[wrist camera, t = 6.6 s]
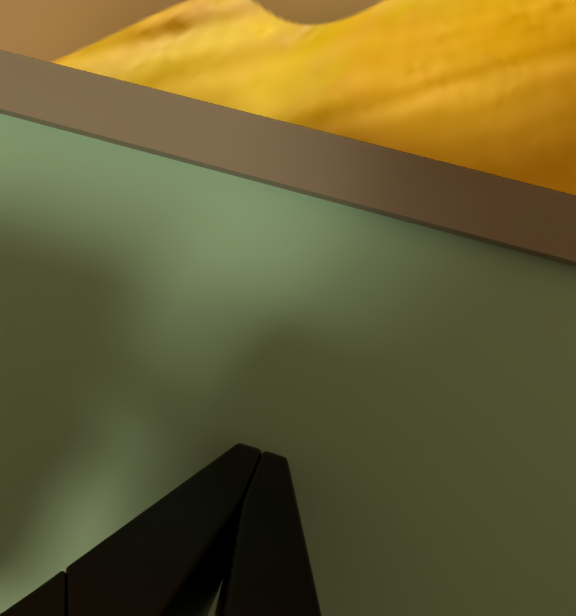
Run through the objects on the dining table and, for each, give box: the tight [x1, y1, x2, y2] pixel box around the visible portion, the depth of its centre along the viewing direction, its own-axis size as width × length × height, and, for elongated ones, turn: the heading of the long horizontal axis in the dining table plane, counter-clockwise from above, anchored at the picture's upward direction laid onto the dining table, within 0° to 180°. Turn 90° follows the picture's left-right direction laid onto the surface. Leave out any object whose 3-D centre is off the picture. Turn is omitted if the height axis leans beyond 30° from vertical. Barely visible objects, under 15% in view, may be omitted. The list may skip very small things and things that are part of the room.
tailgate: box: [0, 50, 576, 616], centre depth 9 cm, size 2×14×12 cm
